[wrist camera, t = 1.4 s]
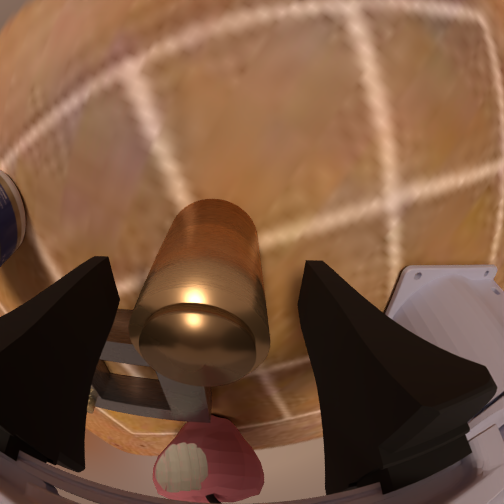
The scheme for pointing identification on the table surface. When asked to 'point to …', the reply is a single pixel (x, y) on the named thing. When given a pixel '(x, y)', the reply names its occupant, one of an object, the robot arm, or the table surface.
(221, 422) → the apple
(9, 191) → the pill bottle
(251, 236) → the brass cylinder
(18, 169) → the table surface
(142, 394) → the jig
